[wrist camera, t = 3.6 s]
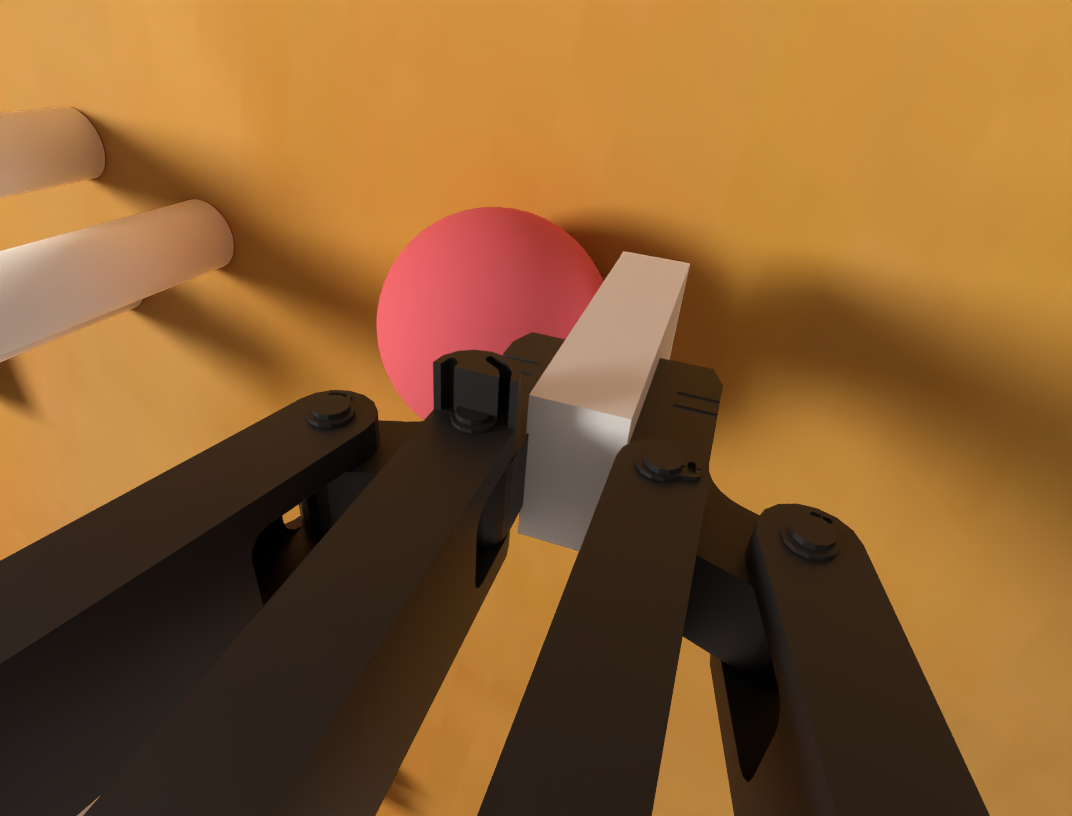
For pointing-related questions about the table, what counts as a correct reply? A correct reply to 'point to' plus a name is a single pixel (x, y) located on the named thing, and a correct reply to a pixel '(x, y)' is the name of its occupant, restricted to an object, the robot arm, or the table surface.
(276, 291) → the table surface
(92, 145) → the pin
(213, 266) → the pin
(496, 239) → the ball
